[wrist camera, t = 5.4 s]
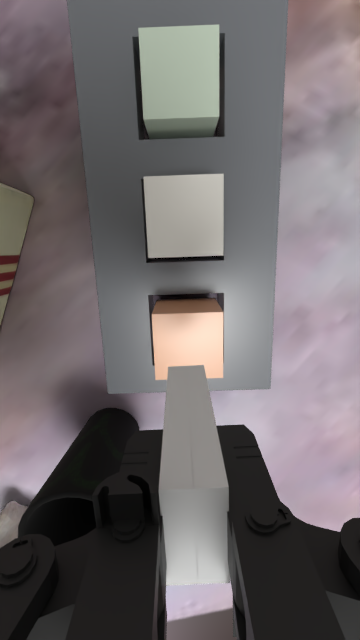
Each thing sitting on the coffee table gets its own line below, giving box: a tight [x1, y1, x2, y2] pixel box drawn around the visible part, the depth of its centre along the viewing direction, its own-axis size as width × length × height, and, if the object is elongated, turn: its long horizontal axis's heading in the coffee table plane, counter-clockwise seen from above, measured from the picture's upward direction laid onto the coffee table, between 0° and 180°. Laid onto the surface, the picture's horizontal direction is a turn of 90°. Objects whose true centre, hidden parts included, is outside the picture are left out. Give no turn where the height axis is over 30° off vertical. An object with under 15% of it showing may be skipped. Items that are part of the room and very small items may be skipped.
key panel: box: [67, 0, 288, 394], centre depth 25 cm, size 14×28×4 cm, turn 2°
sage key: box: [138, 24, 219, 139], centre depth 21 cm, size 5×5×5 cm
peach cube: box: [152, 298, 223, 380], centre depth 24 cm, size 5×5×5 cm
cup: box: [18, 408, 139, 547], centre depth 26 cm, size 8×8×12 cm
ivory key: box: [144, 174, 224, 258], centre depth 21 cm, size 5×5×5 cm
